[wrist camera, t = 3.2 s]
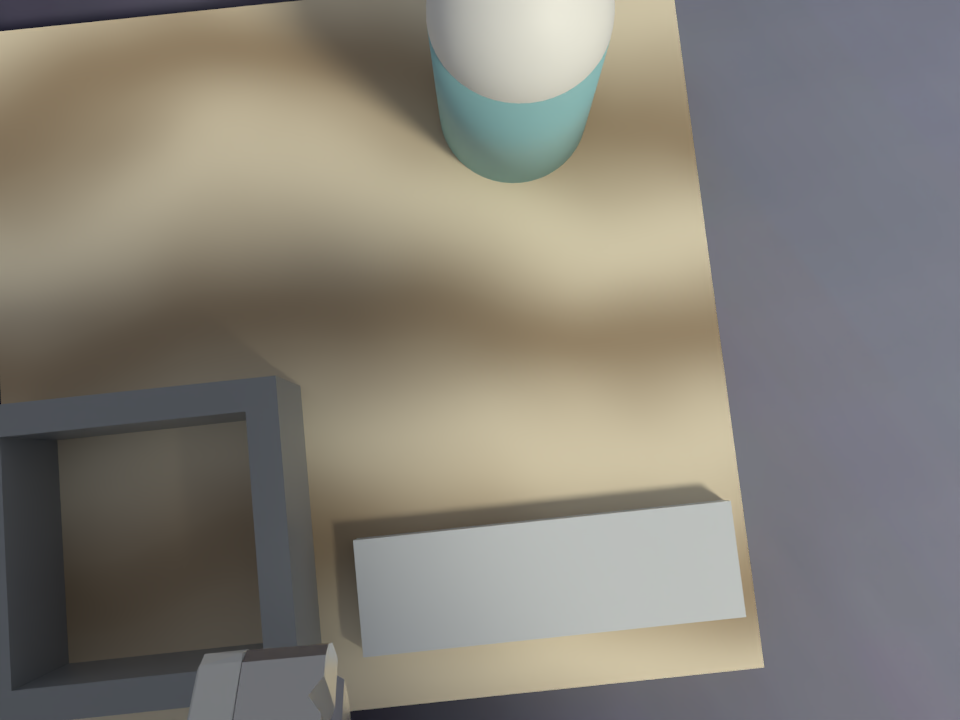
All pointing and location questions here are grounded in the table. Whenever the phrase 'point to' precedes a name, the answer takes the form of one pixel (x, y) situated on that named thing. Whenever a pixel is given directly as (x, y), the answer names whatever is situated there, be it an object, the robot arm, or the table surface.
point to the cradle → (39, 546)
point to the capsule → (516, 80)
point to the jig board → (355, 323)
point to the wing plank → (548, 578)
